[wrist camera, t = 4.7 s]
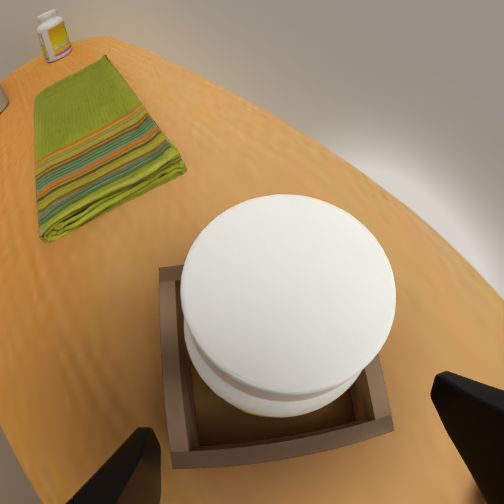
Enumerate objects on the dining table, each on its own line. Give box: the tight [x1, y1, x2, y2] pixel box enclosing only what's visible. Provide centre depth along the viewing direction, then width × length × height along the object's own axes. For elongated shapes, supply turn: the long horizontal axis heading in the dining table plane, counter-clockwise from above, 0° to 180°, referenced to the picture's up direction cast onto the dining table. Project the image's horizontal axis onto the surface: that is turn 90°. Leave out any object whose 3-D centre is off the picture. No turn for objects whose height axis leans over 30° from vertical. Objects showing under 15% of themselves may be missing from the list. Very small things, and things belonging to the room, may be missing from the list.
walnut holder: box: [159, 265, 394, 469], centre depth 18 cm, size 12×12×4 cm
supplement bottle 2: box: [180, 194, 396, 418], centre depth 14 cm, size 7×7×13 cm
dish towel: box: [34, 55, 187, 243], centre depth 32 cm, size 15×36×3 cm, turn 32°
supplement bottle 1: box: [37, 9, 72, 62], centre depth 45 cm, size 7×7×13 cm
